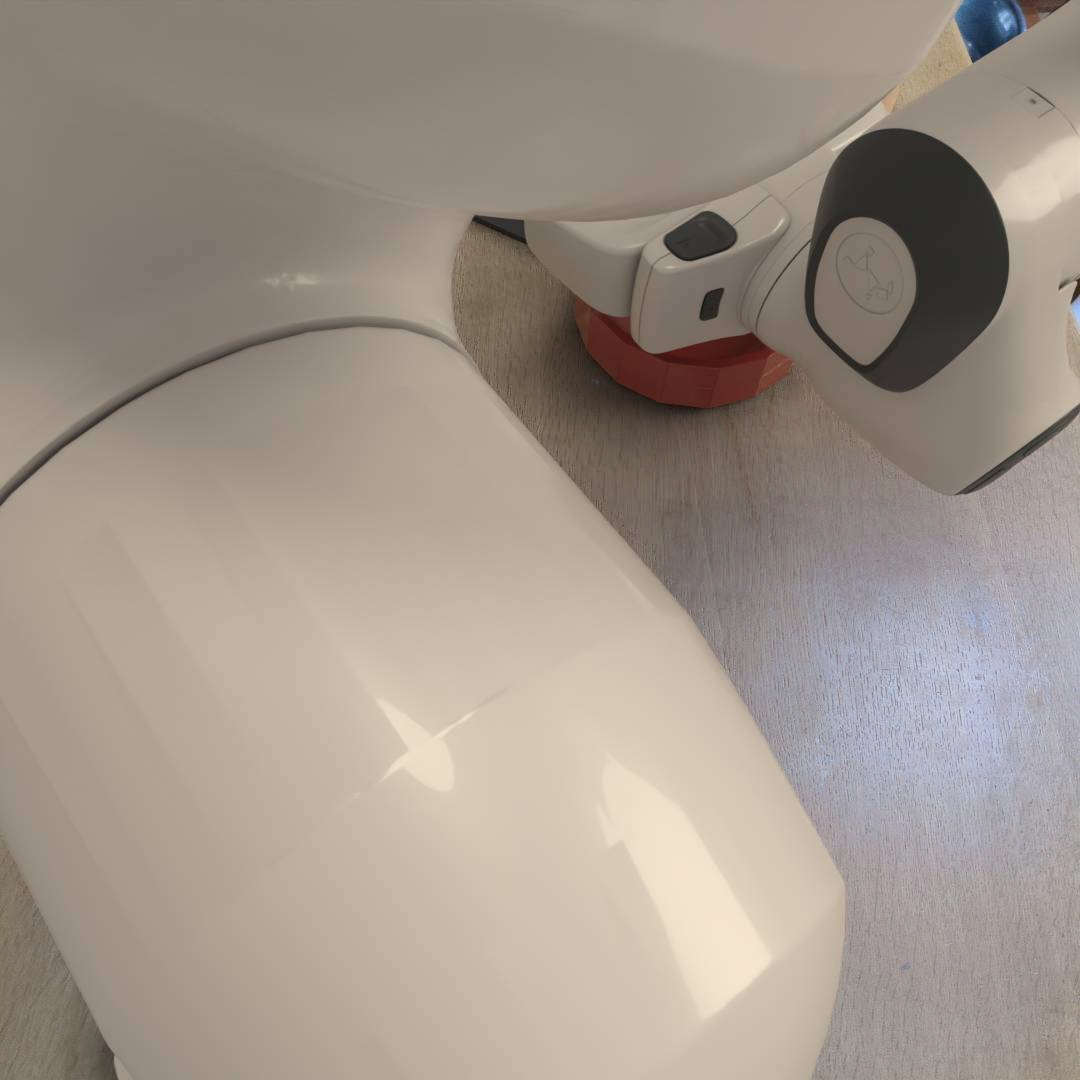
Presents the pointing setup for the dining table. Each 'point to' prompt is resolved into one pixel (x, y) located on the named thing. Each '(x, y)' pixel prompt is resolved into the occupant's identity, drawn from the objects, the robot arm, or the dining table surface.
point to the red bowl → (681, 363)
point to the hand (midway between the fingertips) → (613, 81)
